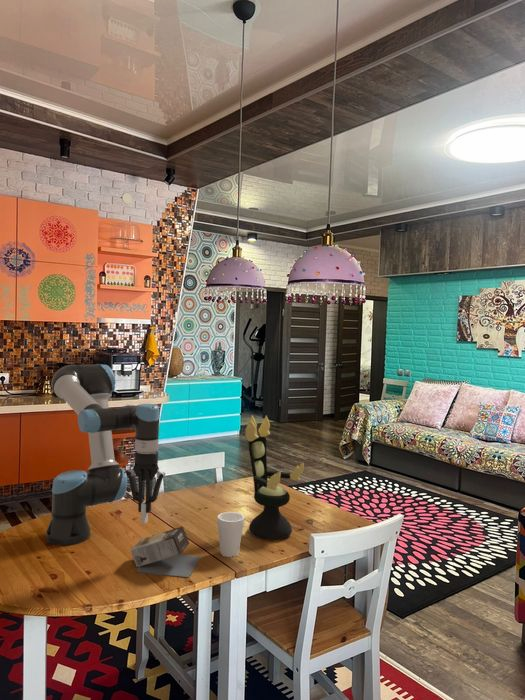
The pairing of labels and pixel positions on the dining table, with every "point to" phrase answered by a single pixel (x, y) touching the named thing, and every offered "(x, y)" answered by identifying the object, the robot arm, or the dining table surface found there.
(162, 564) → the mat
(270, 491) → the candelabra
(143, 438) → the robot arm
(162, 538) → the coffee box
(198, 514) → the dining table surface
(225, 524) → the foam cup
